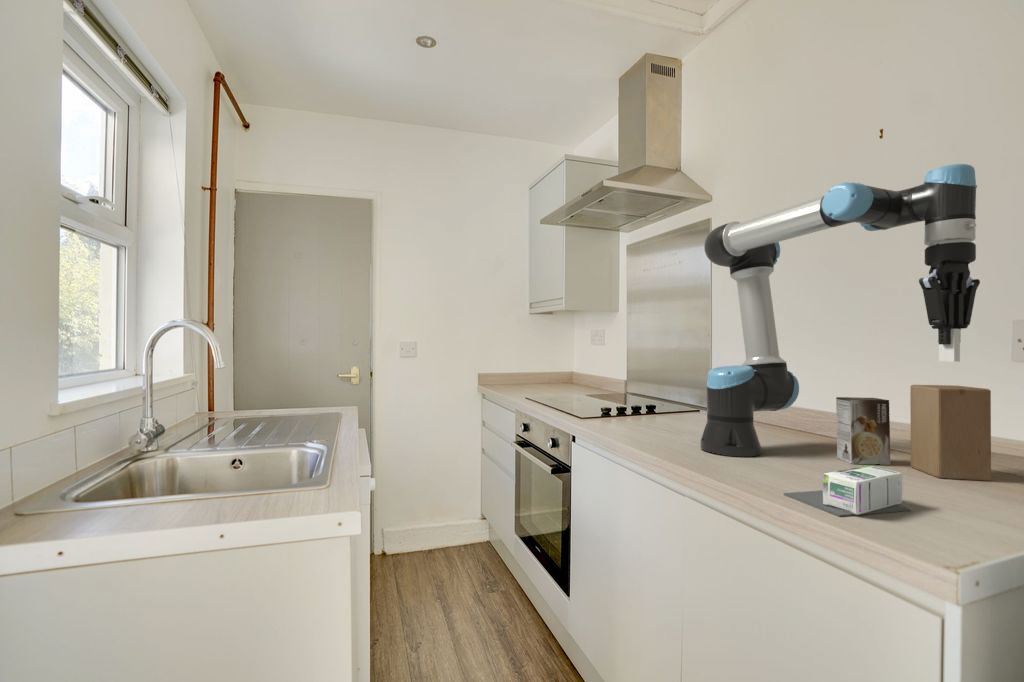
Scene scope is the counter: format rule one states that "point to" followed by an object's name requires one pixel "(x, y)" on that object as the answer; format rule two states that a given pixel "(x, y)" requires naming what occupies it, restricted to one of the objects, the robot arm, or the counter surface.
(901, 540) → the counter surface
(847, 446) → the coffee box
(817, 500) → the mat
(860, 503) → the syrup box
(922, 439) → the wooden block
